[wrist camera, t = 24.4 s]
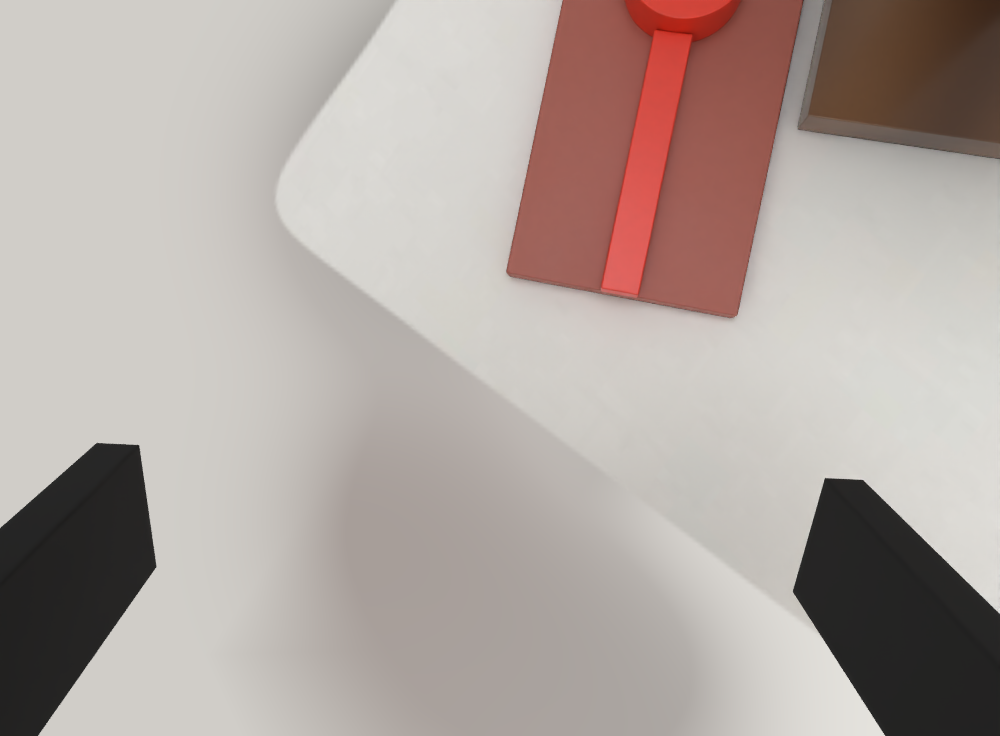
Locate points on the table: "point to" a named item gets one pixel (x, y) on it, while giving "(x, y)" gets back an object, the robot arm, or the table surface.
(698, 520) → the table surface
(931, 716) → the robot arm
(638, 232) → the red spoon
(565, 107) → the red board
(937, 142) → the spoon stand
